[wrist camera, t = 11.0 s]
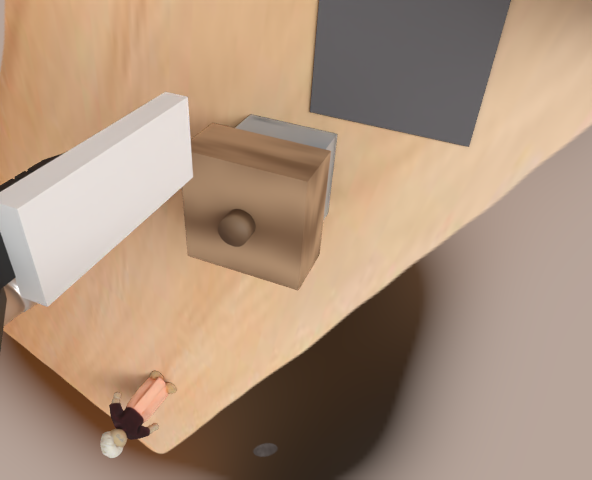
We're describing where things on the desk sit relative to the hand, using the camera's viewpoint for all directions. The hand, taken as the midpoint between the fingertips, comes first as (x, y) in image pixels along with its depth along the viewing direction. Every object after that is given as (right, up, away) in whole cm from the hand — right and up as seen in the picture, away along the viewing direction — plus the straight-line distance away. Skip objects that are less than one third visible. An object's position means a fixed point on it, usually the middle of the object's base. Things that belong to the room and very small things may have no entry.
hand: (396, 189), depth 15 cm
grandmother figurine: (-22, -22, +62) cm, 69 cm away
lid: (-5, +3, +29) cm, 30 cm away
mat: (+5, +13, +24) cm, 27 cm away
